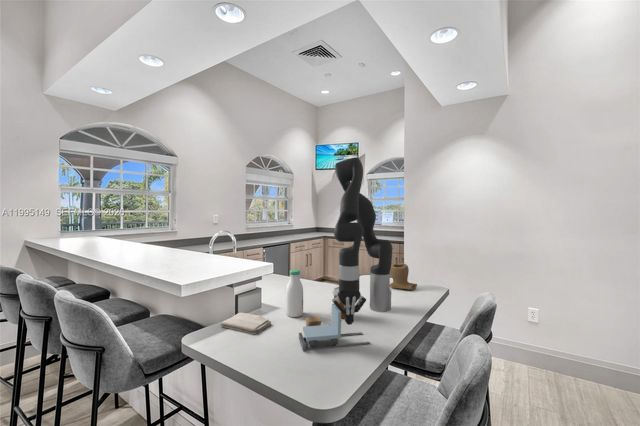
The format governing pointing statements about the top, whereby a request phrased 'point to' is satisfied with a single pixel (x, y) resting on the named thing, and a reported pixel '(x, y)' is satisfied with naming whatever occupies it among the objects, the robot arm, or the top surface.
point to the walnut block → (313, 321)
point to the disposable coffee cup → (335, 293)
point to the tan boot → (401, 277)
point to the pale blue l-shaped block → (325, 329)
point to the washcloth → (246, 323)
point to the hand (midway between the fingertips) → (349, 323)
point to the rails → (330, 345)
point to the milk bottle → (294, 295)
